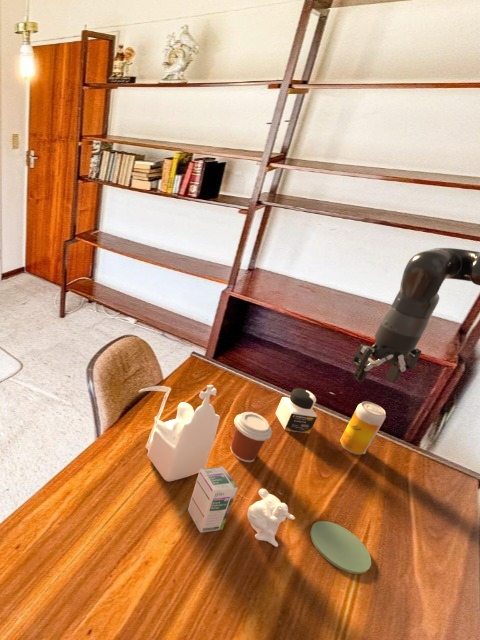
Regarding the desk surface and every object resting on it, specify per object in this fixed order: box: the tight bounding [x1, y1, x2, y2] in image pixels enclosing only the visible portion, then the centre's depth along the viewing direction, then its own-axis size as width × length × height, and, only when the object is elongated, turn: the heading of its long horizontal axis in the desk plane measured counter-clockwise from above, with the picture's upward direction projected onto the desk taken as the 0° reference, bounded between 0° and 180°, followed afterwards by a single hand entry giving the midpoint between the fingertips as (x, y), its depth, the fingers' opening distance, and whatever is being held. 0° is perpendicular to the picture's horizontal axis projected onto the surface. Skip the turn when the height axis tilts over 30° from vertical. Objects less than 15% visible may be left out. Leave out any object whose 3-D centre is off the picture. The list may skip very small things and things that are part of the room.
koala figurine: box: [246, 488, 296, 548], centre depth 88 cm, size 8×7×12 cm
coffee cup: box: [229, 411, 273, 463], centre depth 109 cm, size 9×9×12 cm
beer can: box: [339, 401, 387, 456], centre depth 111 cm, size 6×6×15 cm
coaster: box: [309, 520, 372, 575], centre depth 88 cm, size 11×11×1 cm
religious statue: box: [138, 384, 221, 482], centre depth 101 cm, size 17×14×30 cm
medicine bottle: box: [275, 387, 318, 434], centre depth 119 cm, size 7×7×12 cm
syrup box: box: [187, 465, 238, 534], centre depth 90 cm, size 6×6×14 cm
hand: (373, 380), depth 102 cm, fingers open, 8 cm apart
